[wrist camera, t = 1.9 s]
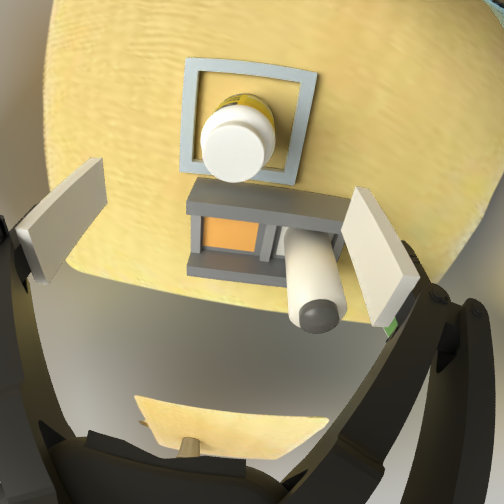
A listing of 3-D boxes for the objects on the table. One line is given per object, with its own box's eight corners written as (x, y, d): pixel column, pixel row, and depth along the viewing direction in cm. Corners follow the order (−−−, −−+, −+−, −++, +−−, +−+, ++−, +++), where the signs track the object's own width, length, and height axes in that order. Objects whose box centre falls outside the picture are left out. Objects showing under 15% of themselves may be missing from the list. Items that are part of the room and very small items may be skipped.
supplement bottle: (241, 80, 23) (228, 96, 15) (285, 118, 25) (296, 153, 18) (203, 123, 26) (175, 160, 18) (246, 157, 28) (239, 207, 20)
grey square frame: (187, 57, 22) (185, 57, 21) (316, 72, 22) (317, 73, 22) (181, 168, 29) (179, 171, 28) (293, 182, 29) (294, 185, 29)
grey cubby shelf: (197, 177, 29) (186, 201, 25) (349, 199, 30) (361, 225, 26) (195, 246, 35) (186, 275, 31) (326, 262, 36) (333, 292, 32)
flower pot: (190, 435, 87) (187, 456, 80) (209, 441, 92) (207, 462, 85) (173, 436, 91) (170, 456, 84) (191, 443, 95) (189, 462, 89)
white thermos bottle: (288, 216, 30) (297, 298, 21) (333, 223, 30) (358, 304, 21) (279, 253, 33) (283, 337, 24) (321, 258, 33) (337, 340, 24)
